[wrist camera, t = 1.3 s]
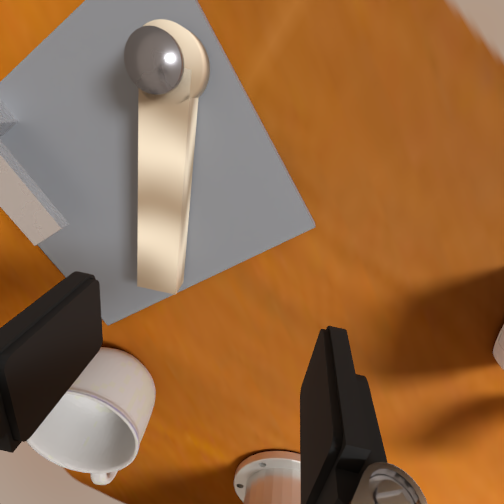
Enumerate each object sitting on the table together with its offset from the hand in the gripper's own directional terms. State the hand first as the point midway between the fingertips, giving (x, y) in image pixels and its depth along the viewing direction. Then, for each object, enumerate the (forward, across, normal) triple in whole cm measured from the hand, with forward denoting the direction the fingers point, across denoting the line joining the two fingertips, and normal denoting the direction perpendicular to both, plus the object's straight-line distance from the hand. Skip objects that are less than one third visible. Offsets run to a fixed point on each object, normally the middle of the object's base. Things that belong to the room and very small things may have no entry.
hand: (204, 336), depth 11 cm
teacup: (+16, +12, +24) cm, 31 cm away
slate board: (+16, +10, 0) cm, 19 cm away
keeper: (+16, +17, +1) cm, 24 cm away
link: (+15, +7, -1) cm, 16 cm away
